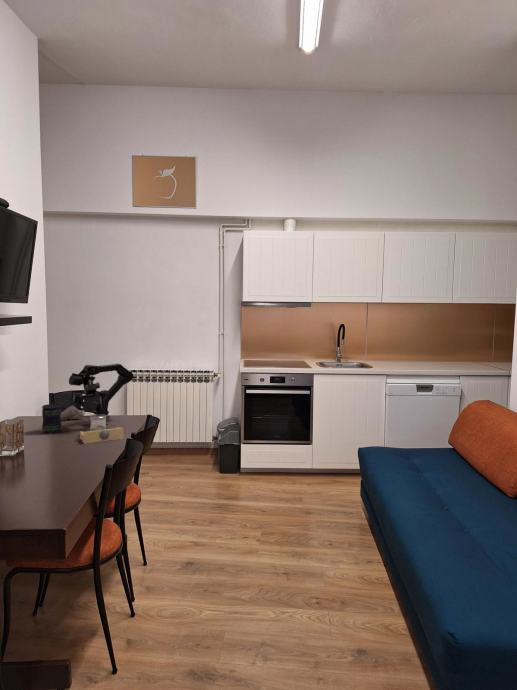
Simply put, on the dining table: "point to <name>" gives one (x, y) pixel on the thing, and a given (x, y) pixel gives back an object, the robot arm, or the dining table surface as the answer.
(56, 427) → the storage jar
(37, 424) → the dining table surface
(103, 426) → the door knob
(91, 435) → the tan wooden u-frame
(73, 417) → the pipe
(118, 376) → the robot arm
